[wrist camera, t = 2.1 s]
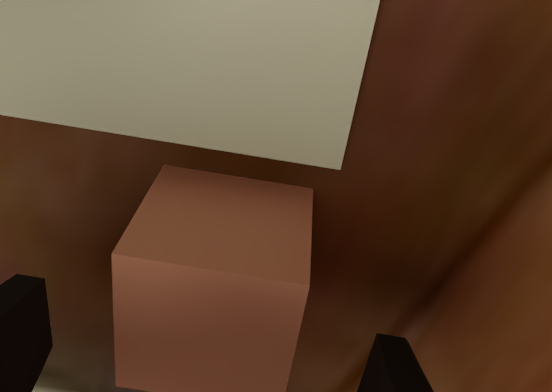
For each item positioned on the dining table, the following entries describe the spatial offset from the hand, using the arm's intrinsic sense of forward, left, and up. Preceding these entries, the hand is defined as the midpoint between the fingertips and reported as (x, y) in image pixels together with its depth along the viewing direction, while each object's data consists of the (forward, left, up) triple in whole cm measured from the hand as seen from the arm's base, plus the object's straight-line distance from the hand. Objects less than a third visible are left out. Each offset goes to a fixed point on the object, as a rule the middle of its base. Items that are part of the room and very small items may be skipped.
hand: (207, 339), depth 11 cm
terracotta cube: (0, 0, -4) cm, 4 cm away
